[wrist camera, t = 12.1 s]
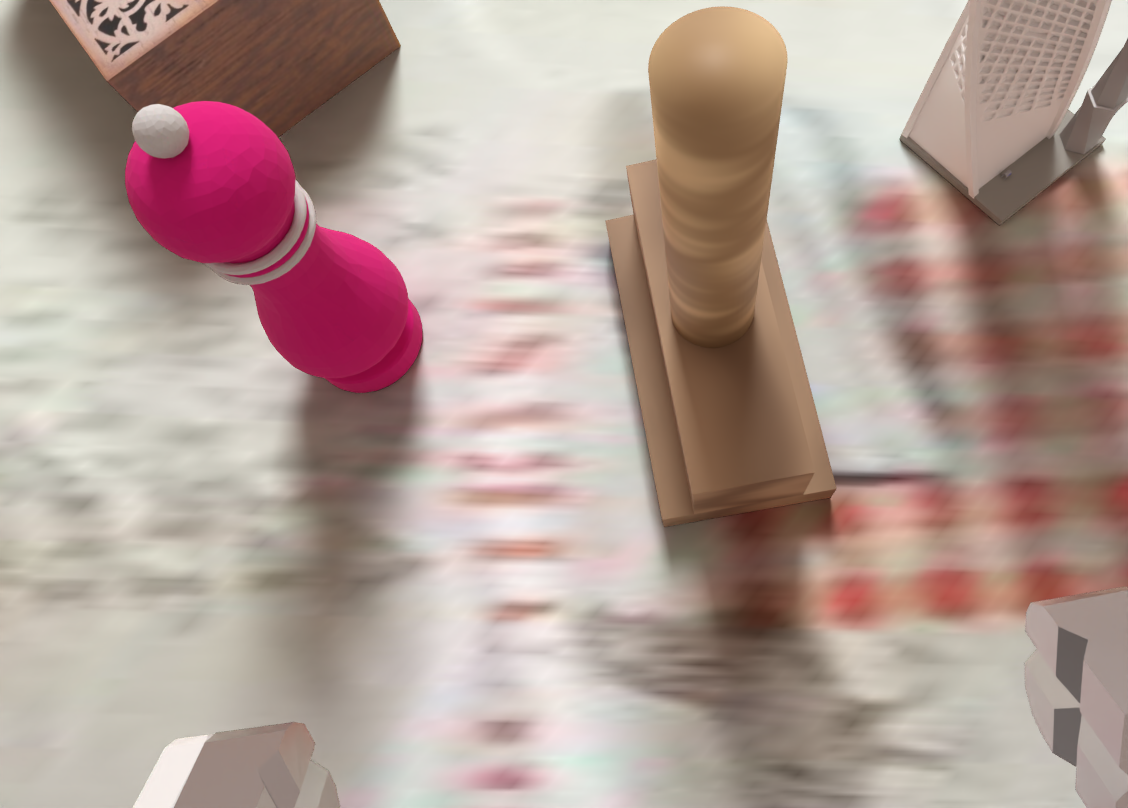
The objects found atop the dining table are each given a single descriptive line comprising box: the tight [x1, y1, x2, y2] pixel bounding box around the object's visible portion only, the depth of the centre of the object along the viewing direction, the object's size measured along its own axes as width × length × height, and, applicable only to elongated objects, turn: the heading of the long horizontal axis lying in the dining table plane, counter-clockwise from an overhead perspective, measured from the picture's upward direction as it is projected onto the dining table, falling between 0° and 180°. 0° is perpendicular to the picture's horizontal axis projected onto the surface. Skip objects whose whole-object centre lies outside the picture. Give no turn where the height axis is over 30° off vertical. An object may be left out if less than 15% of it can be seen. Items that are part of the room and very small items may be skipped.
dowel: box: [648, 7, 787, 348], centre depth 30 cm, size 4×4×16 cm
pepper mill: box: [125, 101, 422, 393], centre depth 38 cm, size 7×7×20 cm
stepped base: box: [606, 159, 836, 527], centre depth 41 cm, size 8×16×6 cm, turn 9°
